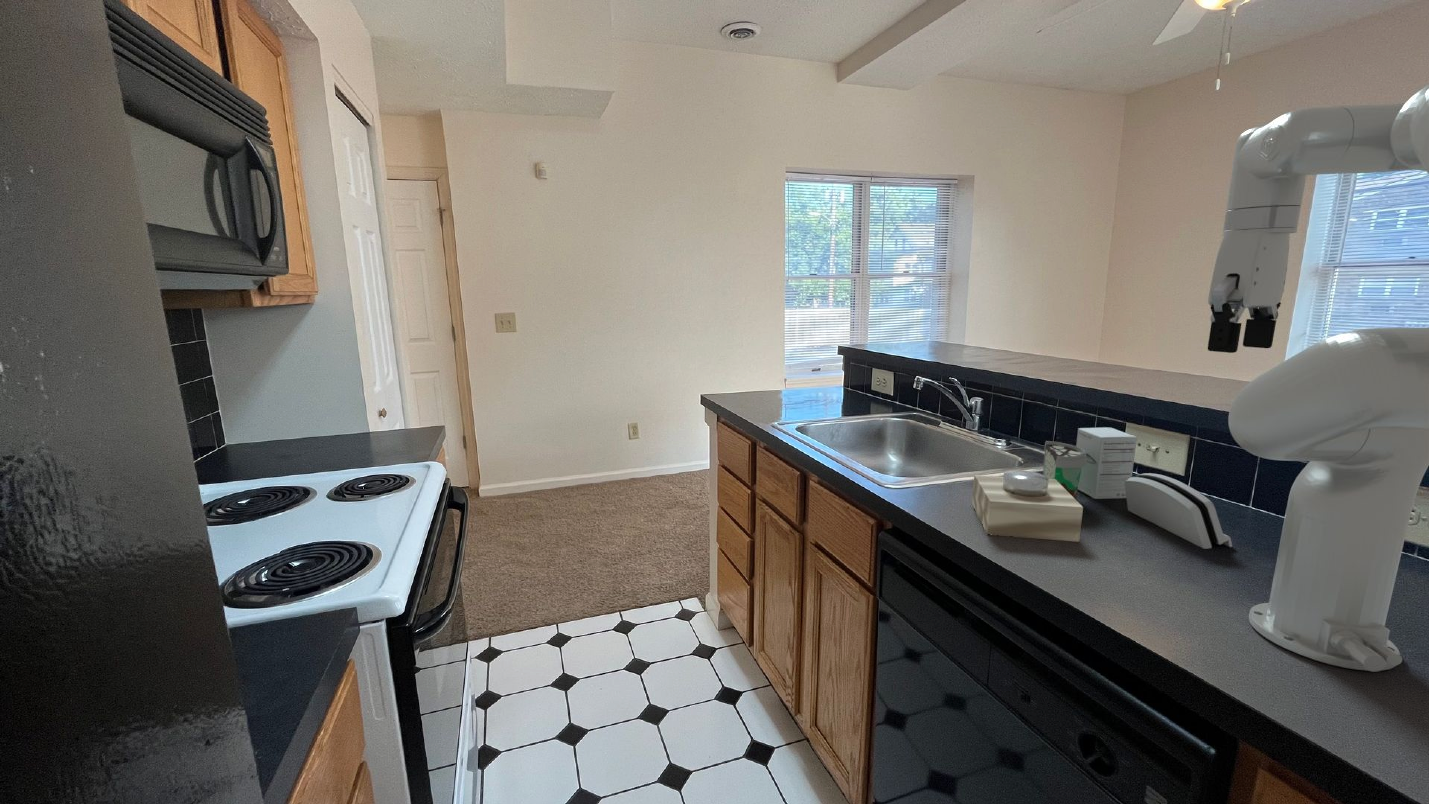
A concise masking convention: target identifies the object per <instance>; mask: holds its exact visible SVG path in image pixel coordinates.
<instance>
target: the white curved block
mask: <svg viewBox="0 0 1429 804" xmlns="http://www.w3.org/2000/svg"><path fill="white" fill-rule="evenodd" d="M1125 490H1126V498H1125V499H1126V503H1127V504H1126V505H1127V511H1128V512H1131V513H1133V514H1134V515H1137V516H1138V517H1140V518H1142V519H1144V520H1146V521H1148V522H1150V523H1152V524H1154V525H1156V526H1158V527H1160V528H1162V529H1165V530H1166V531H1168V532H1170V533H1172V534H1174V535H1176V536H1178V537H1180V538H1182V539H1184V540H1186V541H1187V542H1190V543H1192V544H1193V545H1196V546H1197V547H1199V548H1201V549H1204V550H1205V549H1207V550H1208V549H1212V548H1213V546H1212V545H1213V543H1214V544H1217V545H1225V546H1227V547H1228V548H1232V547H1233V543H1232V539H1231V536H1230V535H1227V534H1225V533H1223V529H1222V526H1221V523H1220V520H1219V517H1218V514H1217V510H1216V507H1215V505H1214V503H1213V502H1212V501H1211V500H1210V499H1209V498H1207V497H1206V496H1205V495H1203V494H1202V493H1201V492H1199V491H1198V490H1196V489H1194V488H1193V487H1191V486H1189V485H1187V484H1186V483H1184V482H1182V481H1180V480H1177V479H1175V478H1172V477H1169V476H1167V475H1163V474H1158V473H1151V472H1148V473H1146V472H1145V473H1141V474H1137V475H1136V476H1132V477H1131V478H1129V479H1128V480H1126V481H1125Z"/></svg>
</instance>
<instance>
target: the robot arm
mask: <svg viewBox="0 0 1429 804" xmlns="http://www.w3.org/2000/svg"><path fill="white" fill-rule="evenodd" d="M1232 162H1233V163H1232V169H1231V176H1230V177H1231V178H1230V185H1229V189H1228V190H1229V191H1228V196H1227V204H1226V209H1225V217H1224V221H1223V222H1224V223H1223V228H1222V236H1223V237H1222V239H1221V243H1220V245H1219V249H1218V252H1217V254H1216V255H1217V256H1216V260H1215V263H1214V267H1213V272H1212V277H1211V282H1210V286H1209V293H1208V297H1207V303H1208V304H1209V306H1210V311H1211V312H1212V313H1211V315H1210V323H1211V324H1210V331H1209V335H1208V337H1209V338H1208V341H1207V342H1208V343H1207V351H1208V352H1216V353H1217V352H1218V353H1229V354H1230V353H1231V354H1234V353H1237V351H1238V348H1239V342H1240V336H1241V329H1242V324H1243V323H1242V322H1239V320H1240V319H1241V316H1243V313H1244V312H1245V310H1246V309H1248V312H1249V317H1250V318H1246V320H1245V321H1246V322H1245V327H1244V328H1245V329H1244V332H1243V341H1242V346H1243V347H1245V348H1259V349H1270V348H1272V346H1273V342H1274V336H1275V330H1276V324H1277V319H1278V318H1279V308H1280V307H1281V305H1282V302H1281V301H1282V298H1283V294H1284V292H1285V285H1286V279H1287V272H1288V271H1287V270H1288V264H1289V263H1288V262H1289V251H1290V238H1291V237H1290V235H1291V234H1297V231H1298V225H1299V221H1300V215H1301V214H1300V213H1301V210H1302V204H1303V197H1304V191H1305V186H1306V180H1307V176H1317V175H1337V174H1338V175H1339V174H1340V175H1341V174H1343V175H1344V174H1376V173H1377V174H1379V173H1388V172H1401V171H1402V172H1403V171H1414V170H1415V171H1421V172H1427V174H1428V175H1429V84H1428V85H1426V86H1425V87H1423V88H1422V89H1420V90H1419V91H1417V92H1415V93H1414V95H1412V96H1411V97H1410V98H1409V99H1408V100H1407V101H1406V102H1401V103H1400V102H1399V103H1385V104H1359V105H1339V106H1338V105H1337V106H1323V107H1319V106H1318V107H1317V106H1316V107H1304V108H1300V109H1294V110H1291V111H1289V112H1286V113H1284V114H1282V115H1280V116H1278V117H1277V118H1274V119H1273V120H1272V121H1271V122H1269V123H1268V124H1263V125H1258V126H1255V127H1252V128H1250V129H1249V128H1248V130H1245V131H1244V132H1243V133H1241V134H1240V135H1239V137H1238V138H1237V141H1236V144H1235V150H1234V155H1233V161H1232ZM1227 419H1228V428H1229V429H1228V430H1229V431H1230V435H1231V436H1232V438H1233V440H1234V441H1235V442H1236V443H1237V444H1238V445H1239V446H1240V447H1241V448H1242V449H1243V450H1245V451H1246V452H1248V453H1250V454H1252V455H1253V456H1257V457H1259V458H1262V459H1267V460H1273V461H1285V462H1286V461H1288V462H1290V461H1291V462H1308V463H1307V464H1306V465H1305V467H1303V468H1302V470H1301V471H1300V473H1298V475H1297V476H1296V477H1295V480H1294V482H1293V483H1292V485H1291V488H1290V492H1289V495H1288V500H1287V505H1286V509H1285V515H1284V521H1283V525H1282V530H1281V534H1280V535H1281V536H1280V540H1279V541H1280V542H1279V547H1278V551H1277V558H1276V562H1275V566H1274V567H1275V569H1274V573H1273V579H1272V583H1271V584H1272V585H1271V589H1270V595H1269V600H1268V601H1269V602H1263V603H1258V604H1256V605H1254V606H1252V607H1251V608H1250V610H1249V613H1248V622H1249V623H1250V625H1251V627H1253V629H1255V631H1256V632H1257V633H1259V634H1260V635H1261V636H1262V637H1265V638H1266V639H1267V640H1269V641H1271V642H1272V643H1274V644H1276V645H1278V646H1279V647H1282V648H1283V649H1286V650H1288V651H1290V652H1293V653H1295V654H1298V655H1299V656H1303V657H1306V658H1308V659H1311V660H1314V661H1316V662H1317V661H1318V662H1321V663H1325V664H1327V665H1331V666H1335V667H1341V668H1345V669H1350V670H1356V671H1357V670H1358V671H1368V672H1373V673H1374V672H1376V673H1377V672H1381V671H1386V670H1391V669H1393V668H1395V667H1397V666H1398V665H1400V664H1401V663H1402V662H1403V657H1402V656H1401V655H1400V654H1401V653H1400V651H1399V648H1398V647H1397V646H1396V645H1395V644H1394V643H1393V641H1391V640H1390V639H1389V638H1390V636H1389V635H1390V632H1391V629H1389V628H1388V627H1386V621H1387V617H1388V612H1389V609H1390V608H1389V607H1390V605H1391V600H1392V596H1393V591H1394V588H1395V583H1396V579H1397V578H1396V577H1397V574H1398V569H1399V564H1400V561H1401V556H1402V552H1403V549H1404V543H1405V540H1406V536H1407V531H1408V528H1409V524H1410V519H1411V515H1412V511H1413V508H1414V503H1415V500H1416V497H1417V495H1418V491H1419V488H1420V485H1421V483H1422V480H1423V478H1424V476H1425V473H1426V471H1427V470H1428V468H1429V327H1377V328H1376V327H1375V328H1373V327H1372V328H1365V329H1364V328H1363V329H1362V328H1361V329H1356V330H1350V331H1346V332H1342V333H1338V334H1335V335H1332V336H1329V337H1325V338H1324V339H1322V340H1320V341H1318V342H1316V343H1314V344H1312V345H1311V346H1310V345H1309V347H1307V348H1305V349H1303V350H1301V351H1299V352H1298V353H1297V354H1296V353H1295V355H1293V356H1292V357H1290V358H1288V359H1286V360H1284V361H1283V362H1280V363H1278V364H1277V365H1276V366H1274V367H1273V368H1272V367H1271V368H1270V369H1269V370H1267V371H1265V372H1263V373H1262V374H1260V375H1258V376H1256V377H1255V378H1254V379H1253V380H1251V381H1249V382H1248V383H1247V384H1246V385H1244V387H1243V388H1242V389H1241V390H1240V391H1239V392H1238V393H1237V395H1236V396H1235V397H1234V400H1233V401H1232V403H1231V405H1230V408H1229V412H1228V418H1227Z"/></svg>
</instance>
